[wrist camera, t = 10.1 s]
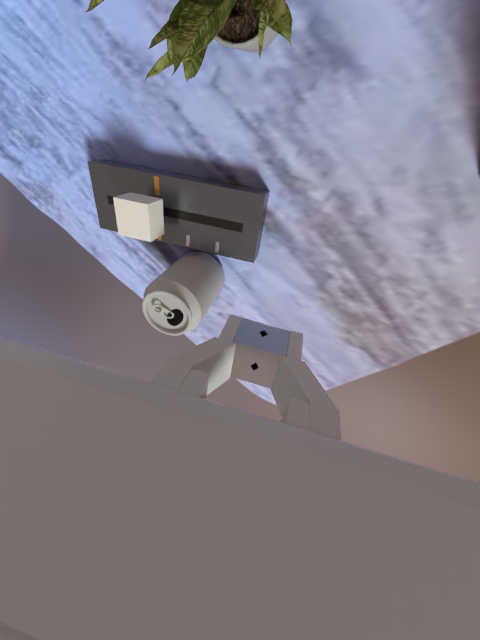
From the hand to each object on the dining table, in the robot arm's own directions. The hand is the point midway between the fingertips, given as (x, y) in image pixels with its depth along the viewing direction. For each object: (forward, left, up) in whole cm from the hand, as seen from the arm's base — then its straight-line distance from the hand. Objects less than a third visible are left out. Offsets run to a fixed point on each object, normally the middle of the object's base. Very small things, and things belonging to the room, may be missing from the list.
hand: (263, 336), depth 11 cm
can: (+12, -12, -26) cm, 31 cm away
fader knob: (+3, -17, -22) cm, 28 cm away
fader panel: (+3, -15, -26) cm, 30 cm away
